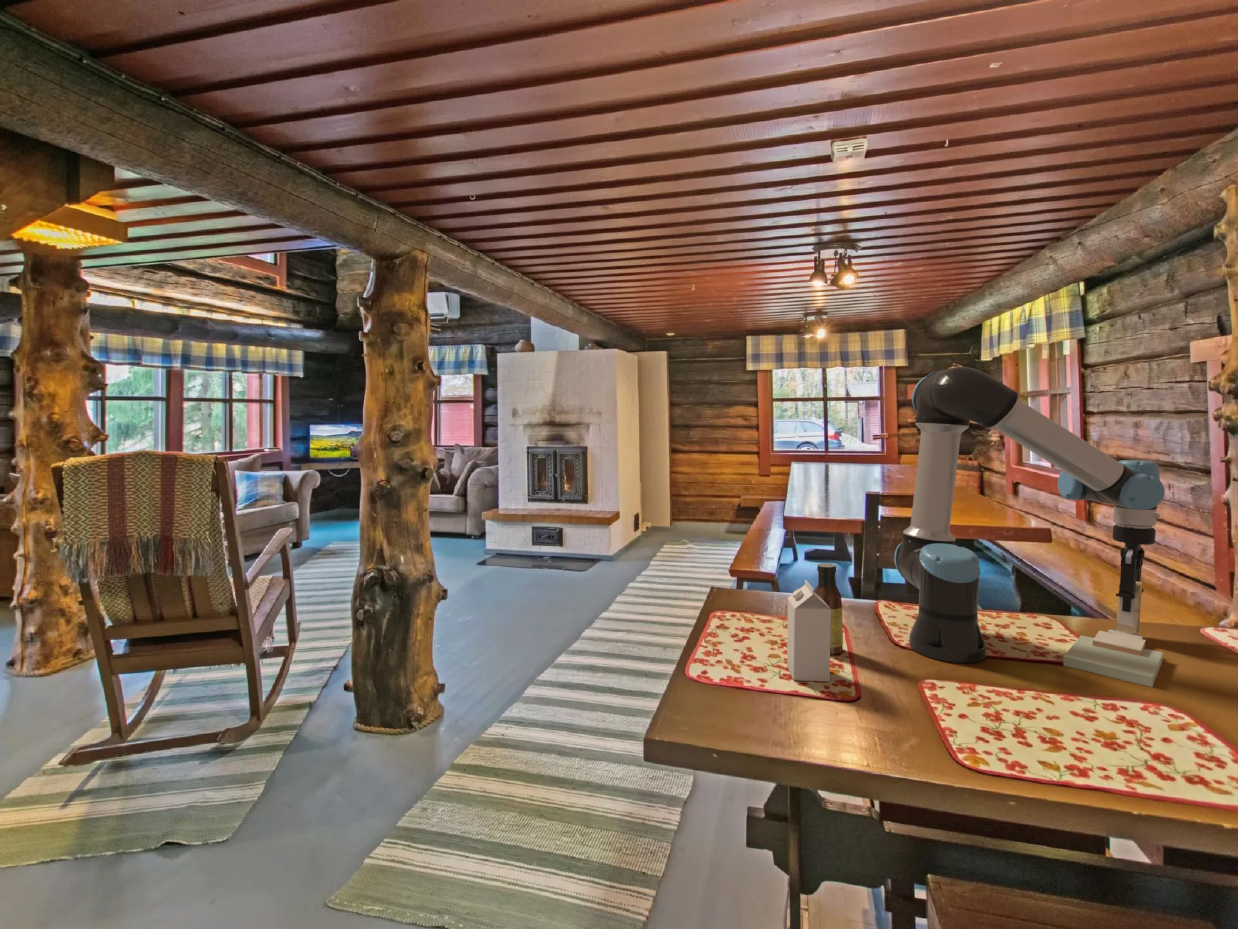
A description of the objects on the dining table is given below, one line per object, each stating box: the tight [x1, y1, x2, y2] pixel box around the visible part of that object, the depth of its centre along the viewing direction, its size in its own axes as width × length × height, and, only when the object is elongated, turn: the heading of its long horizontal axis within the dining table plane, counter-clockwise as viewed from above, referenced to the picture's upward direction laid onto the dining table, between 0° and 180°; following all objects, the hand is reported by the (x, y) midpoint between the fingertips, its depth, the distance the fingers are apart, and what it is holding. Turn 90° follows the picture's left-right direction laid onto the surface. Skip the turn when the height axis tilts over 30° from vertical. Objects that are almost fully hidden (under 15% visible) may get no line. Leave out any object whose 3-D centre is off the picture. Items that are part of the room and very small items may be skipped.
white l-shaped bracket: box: [1107, 581, 1144, 640], centre depth 134 cm, size 15×6×12 cm, turn 132°
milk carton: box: [786, 579, 831, 682], centre depth 119 cm, size 7×7×19 cm
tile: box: [1093, 630, 1147, 656], centre depth 128 cm, size 8×8×1 cm
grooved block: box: [1063, 634, 1164, 688], centre depth 123 cm, size 18×14×2 cm
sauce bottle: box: [814, 562, 844, 655], centre depth 131 cm, size 7×6×20 cm
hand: (1128, 621), depth 138 cm, fingers closed on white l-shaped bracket, 6 cm apart
